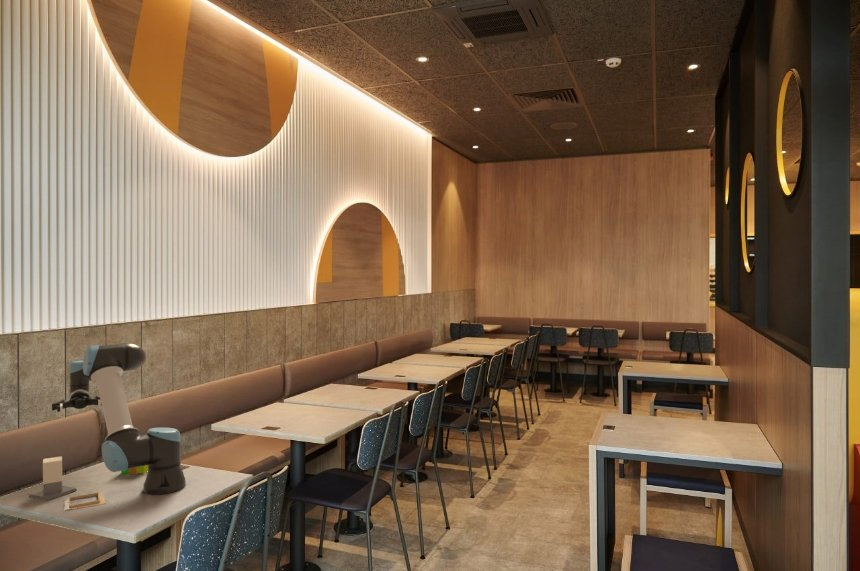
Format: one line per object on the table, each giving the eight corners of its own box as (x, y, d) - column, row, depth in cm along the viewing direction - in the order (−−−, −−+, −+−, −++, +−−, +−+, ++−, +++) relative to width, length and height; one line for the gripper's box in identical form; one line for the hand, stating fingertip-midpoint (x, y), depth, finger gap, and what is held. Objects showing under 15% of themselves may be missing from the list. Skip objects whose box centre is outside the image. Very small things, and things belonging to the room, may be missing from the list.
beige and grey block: (62, 486, 228) (61, 456, 228) (62, 491, 223) (61, 460, 223) (44, 489, 225) (43, 458, 225) (43, 494, 220) (42, 463, 220)
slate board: (76, 490, 227) (76, 488, 227) (48, 500, 217) (48, 497, 217) (57, 486, 231) (57, 484, 231) (29, 496, 221) (28, 493, 221)
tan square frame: (103, 492, 224) (103, 490, 224) (104, 503, 213) (104, 500, 213) (64, 499, 218) (63, 496, 218) (63, 511, 207) (63, 508, 207)
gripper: (112, 404, 264) (115, 412, 246) (46, 411, 251) (44, 420, 233) (112, 387, 264) (115, 394, 246) (45, 393, 251) (44, 402, 233)
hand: (80, 407), depth 239 cm, fingers open, 13 cm apart
